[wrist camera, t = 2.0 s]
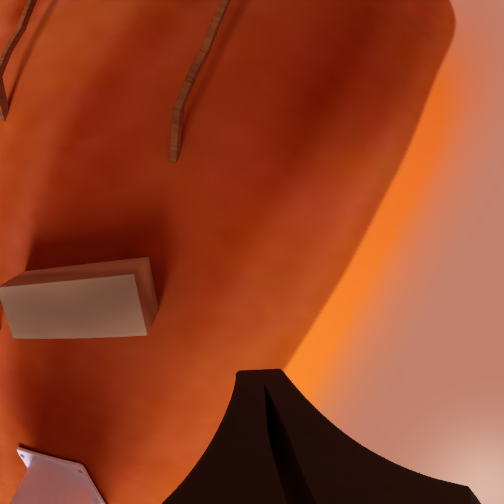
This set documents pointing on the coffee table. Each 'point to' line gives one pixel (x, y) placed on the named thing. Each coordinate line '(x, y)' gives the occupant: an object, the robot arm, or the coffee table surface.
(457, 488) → the robot arm
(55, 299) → the beige rectangular block
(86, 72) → the coffee table surface
